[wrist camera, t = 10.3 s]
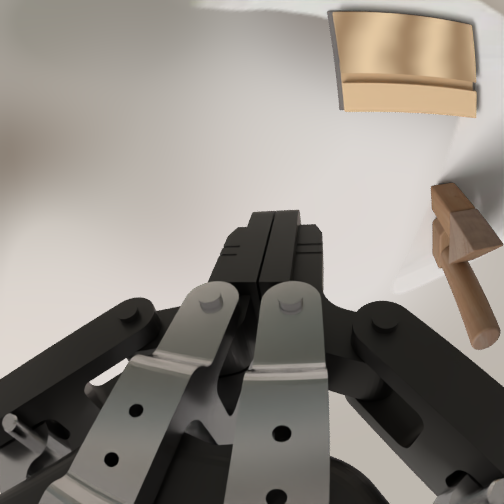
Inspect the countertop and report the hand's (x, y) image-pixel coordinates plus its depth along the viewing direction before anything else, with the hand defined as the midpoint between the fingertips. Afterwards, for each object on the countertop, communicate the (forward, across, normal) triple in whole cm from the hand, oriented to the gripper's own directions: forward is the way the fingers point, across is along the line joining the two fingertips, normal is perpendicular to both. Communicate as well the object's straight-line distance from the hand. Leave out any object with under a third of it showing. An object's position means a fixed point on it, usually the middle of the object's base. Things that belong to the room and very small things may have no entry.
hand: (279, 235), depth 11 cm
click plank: (+27, -13, -7) cm, 30 cm away
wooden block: (+27, -18, +15) cm, 36 cm away
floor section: (+27, -12, -5) cm, 30 cm away
